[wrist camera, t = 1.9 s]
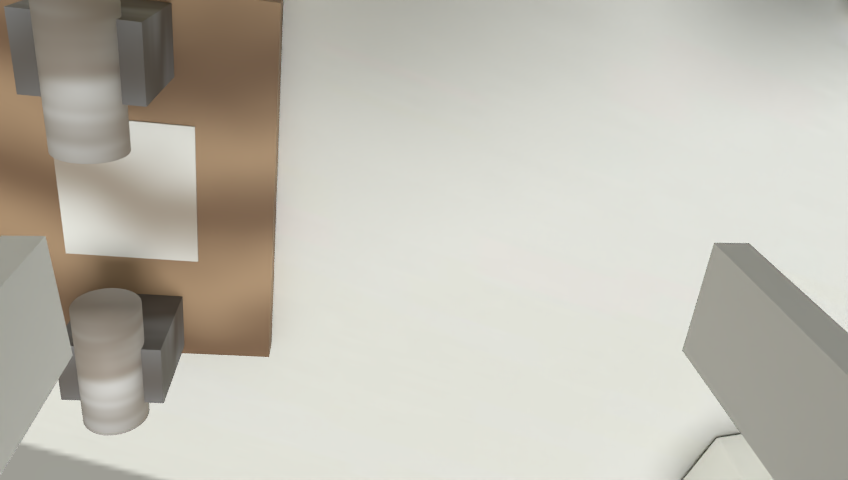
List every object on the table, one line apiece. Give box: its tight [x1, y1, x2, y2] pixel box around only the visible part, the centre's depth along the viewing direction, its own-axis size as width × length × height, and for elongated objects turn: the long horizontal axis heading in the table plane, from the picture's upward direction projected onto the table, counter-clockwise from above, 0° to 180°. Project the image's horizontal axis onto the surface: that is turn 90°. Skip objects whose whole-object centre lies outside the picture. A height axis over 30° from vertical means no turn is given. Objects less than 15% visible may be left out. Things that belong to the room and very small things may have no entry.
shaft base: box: [0, 0, 283, 435], centre depth 29 cm, size 19×13×7 cm
